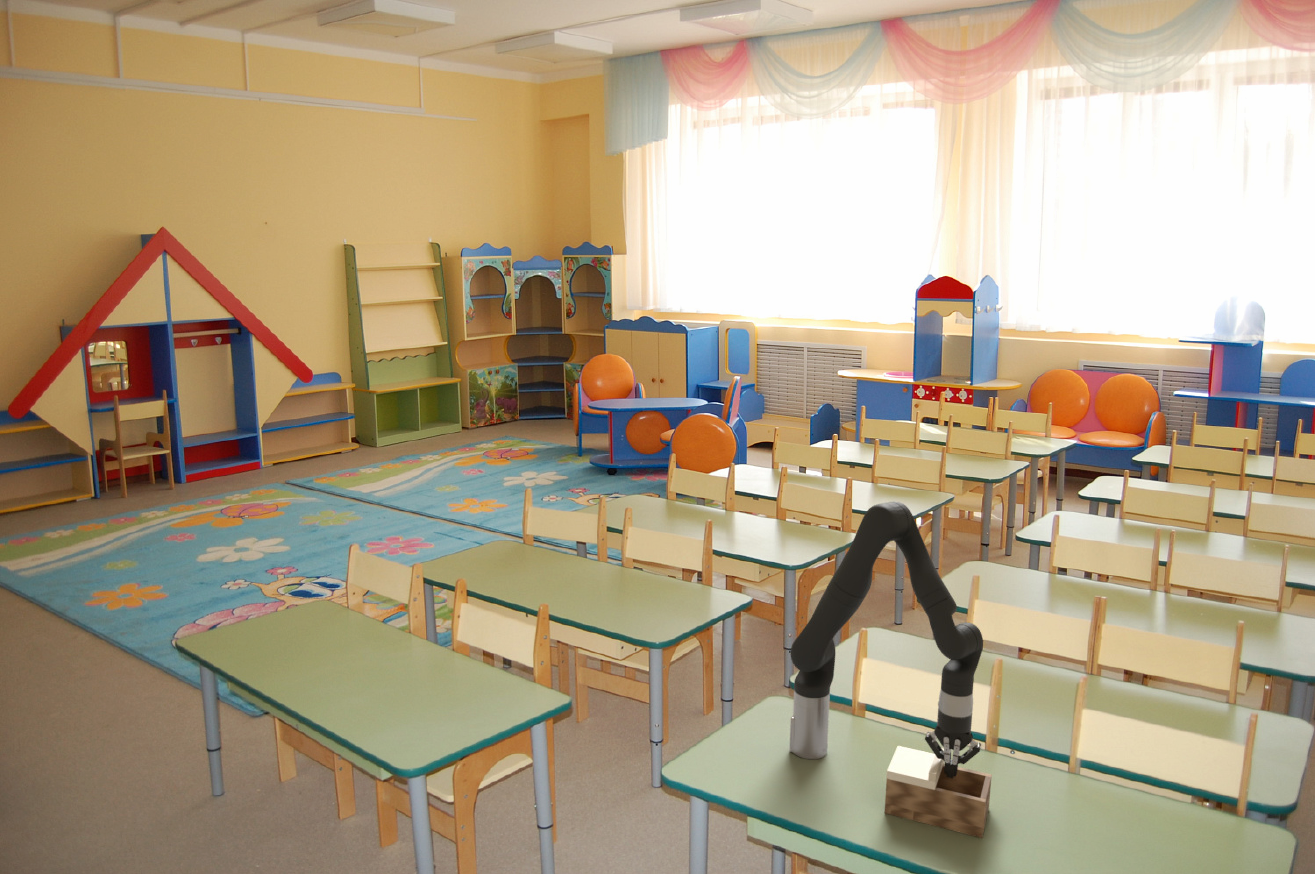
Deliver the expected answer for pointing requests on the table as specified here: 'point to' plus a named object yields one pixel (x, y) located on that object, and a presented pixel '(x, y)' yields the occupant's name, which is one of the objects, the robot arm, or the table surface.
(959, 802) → the box
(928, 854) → the table surface
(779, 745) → the table surface
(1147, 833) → the table surface
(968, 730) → the robot arm
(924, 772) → the lid
